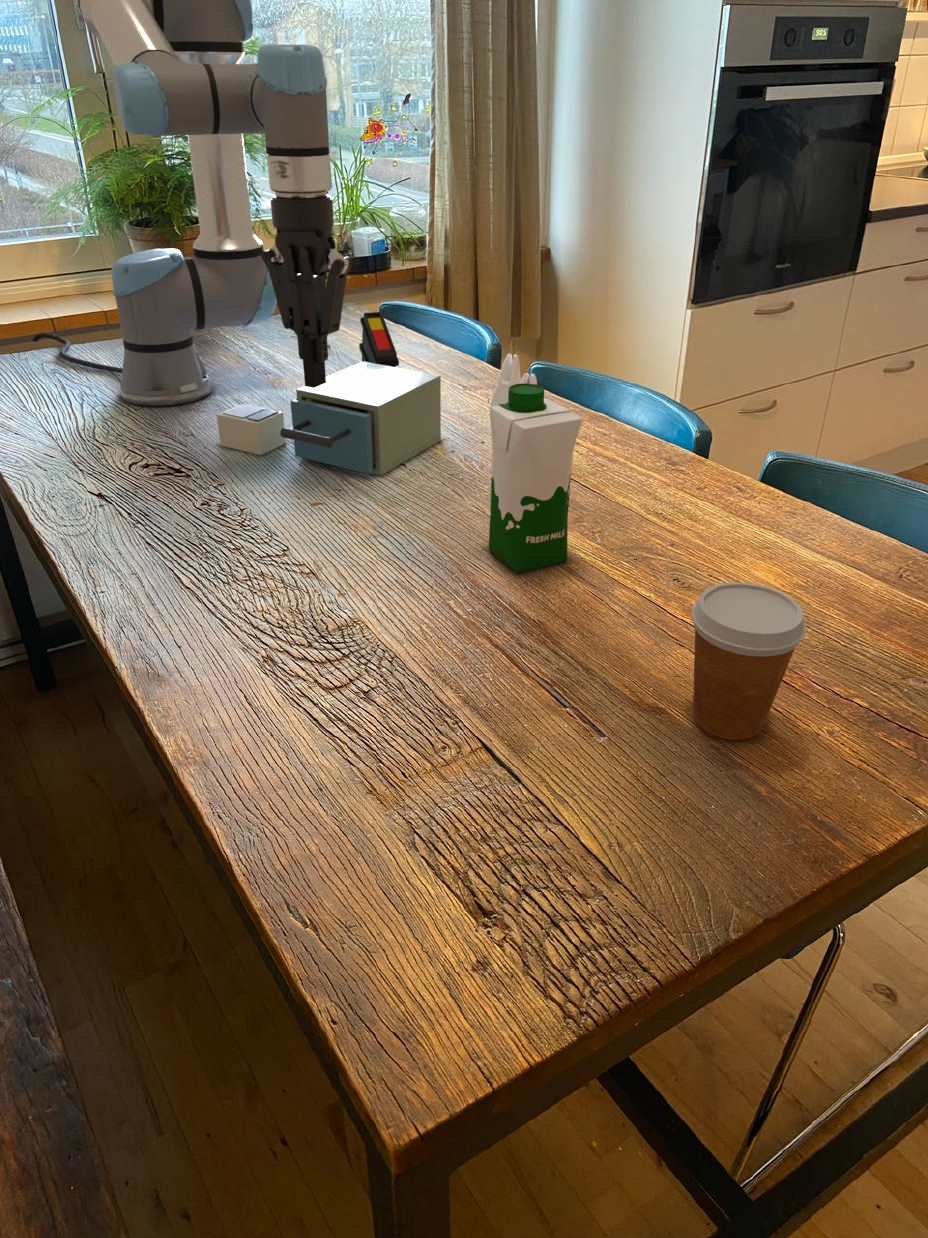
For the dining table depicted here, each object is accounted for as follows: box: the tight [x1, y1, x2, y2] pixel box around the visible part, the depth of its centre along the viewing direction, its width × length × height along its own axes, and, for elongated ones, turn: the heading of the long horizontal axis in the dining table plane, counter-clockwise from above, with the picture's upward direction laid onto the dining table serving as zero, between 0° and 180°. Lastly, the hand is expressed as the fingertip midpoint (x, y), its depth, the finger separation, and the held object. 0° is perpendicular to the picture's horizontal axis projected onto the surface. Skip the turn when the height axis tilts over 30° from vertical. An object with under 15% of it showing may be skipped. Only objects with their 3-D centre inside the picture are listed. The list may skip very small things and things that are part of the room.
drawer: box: [280, 398, 375, 475], centre depth 133 cm, size 21×13×8 cm, turn 150°
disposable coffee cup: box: [691, 581, 807, 741], centre depth 81 cm, size 10×10×12 cm
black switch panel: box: [358, 311, 400, 367], centre depth 155 cm, size 4×13×15 cm, turn 19°
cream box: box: [216, 403, 287, 456], centre depth 140 cm, size 8×6×5 cm
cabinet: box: [295, 361, 442, 477], centre depth 138 cm, size 17×14×10 cm
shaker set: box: [489, 353, 538, 407], centre depth 147 cm, size 12×4×11 cm, turn 22°
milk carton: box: [488, 383, 583, 574], centre depth 106 cm, size 9×9×20 cm
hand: (315, 384), depth 124 cm, fingers closed
